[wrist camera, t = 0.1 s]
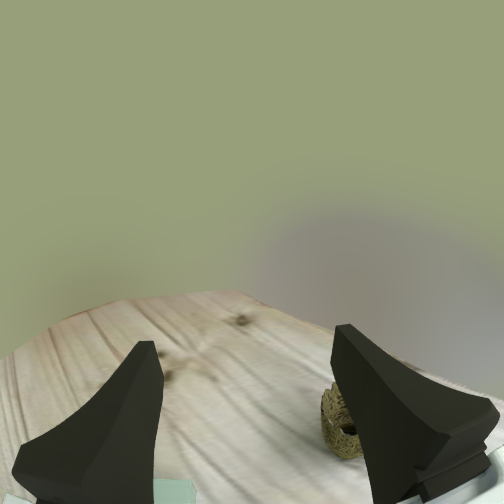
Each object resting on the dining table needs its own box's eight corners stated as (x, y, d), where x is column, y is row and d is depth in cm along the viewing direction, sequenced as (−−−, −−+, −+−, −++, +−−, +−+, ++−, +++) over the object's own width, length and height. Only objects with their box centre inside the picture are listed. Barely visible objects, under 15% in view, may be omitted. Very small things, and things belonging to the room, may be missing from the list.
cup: (301, 461, 27) (306, 415, 24) (331, 416, 32) (339, 366, 29) (367, 484, 22) (387, 441, 20) (390, 434, 28) (408, 385, 25)
